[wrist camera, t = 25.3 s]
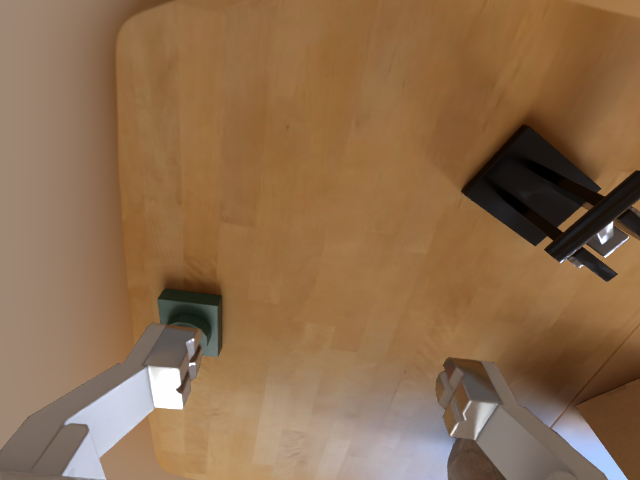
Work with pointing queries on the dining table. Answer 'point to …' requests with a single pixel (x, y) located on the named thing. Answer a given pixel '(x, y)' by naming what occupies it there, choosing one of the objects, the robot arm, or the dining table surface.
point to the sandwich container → (617, 425)
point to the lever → (599, 223)
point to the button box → (194, 316)
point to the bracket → (541, 194)
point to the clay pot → (472, 462)
